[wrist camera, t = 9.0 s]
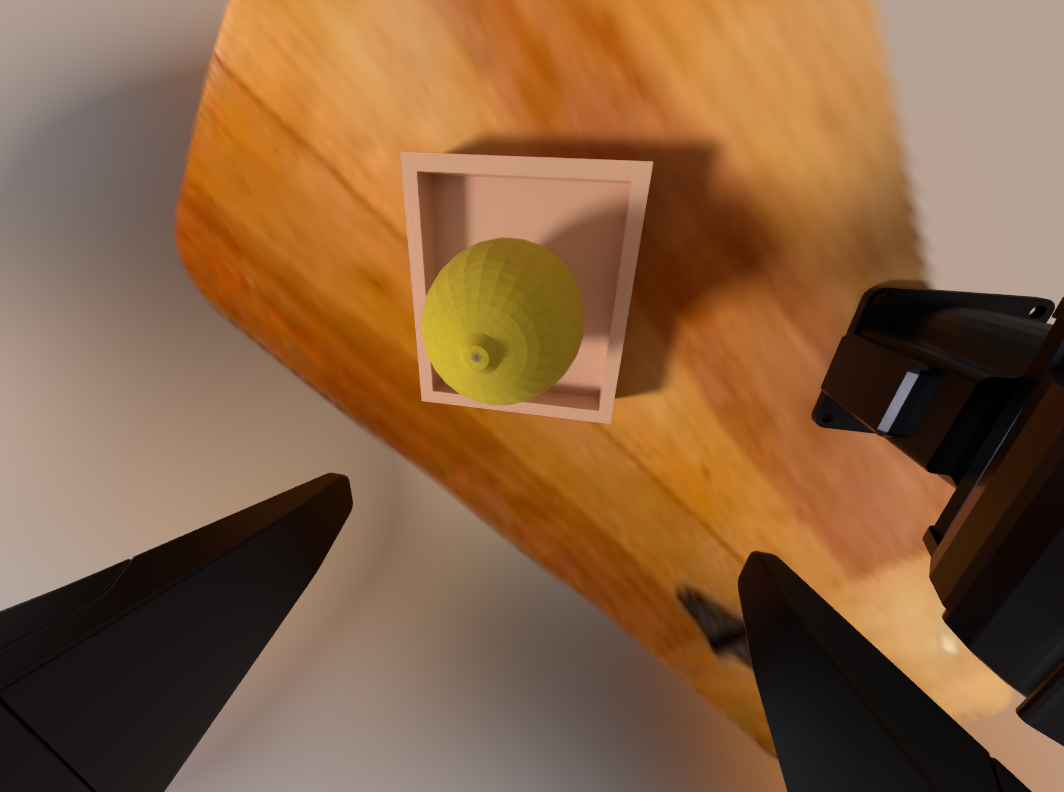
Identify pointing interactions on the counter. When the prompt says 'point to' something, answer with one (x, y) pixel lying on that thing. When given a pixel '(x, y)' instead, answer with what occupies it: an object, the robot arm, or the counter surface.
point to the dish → (547, 220)
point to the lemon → (503, 321)
